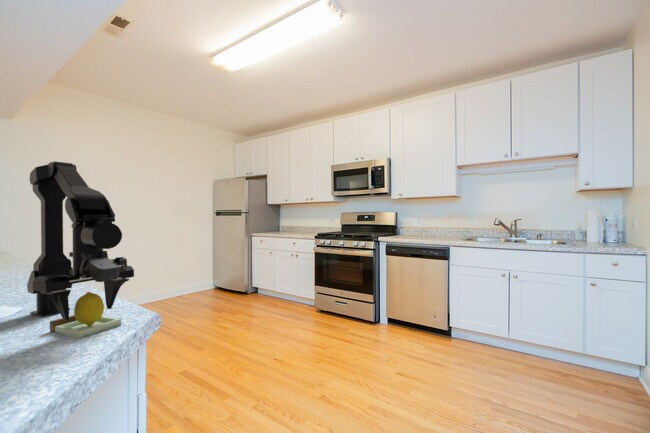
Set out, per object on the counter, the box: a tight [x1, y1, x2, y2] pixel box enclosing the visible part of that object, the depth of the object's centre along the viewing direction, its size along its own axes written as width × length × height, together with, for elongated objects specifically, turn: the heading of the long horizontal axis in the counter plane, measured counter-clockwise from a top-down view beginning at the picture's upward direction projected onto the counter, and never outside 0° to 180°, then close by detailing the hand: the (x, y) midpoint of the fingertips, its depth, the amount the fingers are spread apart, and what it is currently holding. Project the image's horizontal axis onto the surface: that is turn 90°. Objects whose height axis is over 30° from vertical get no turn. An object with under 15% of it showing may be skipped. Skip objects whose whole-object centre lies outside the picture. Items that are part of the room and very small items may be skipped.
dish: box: [54, 315, 122, 340], centre depth 73 cm, size 9×9×2 cm
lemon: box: [73, 291, 105, 326], centre depth 73 cm, size 6×6×8 cm
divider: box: [49, 314, 77, 333], centre depth 76 cm, size 1×10×2 cm, turn 156°
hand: (88, 314), depth 73 cm, fingers open, 9 cm apart
